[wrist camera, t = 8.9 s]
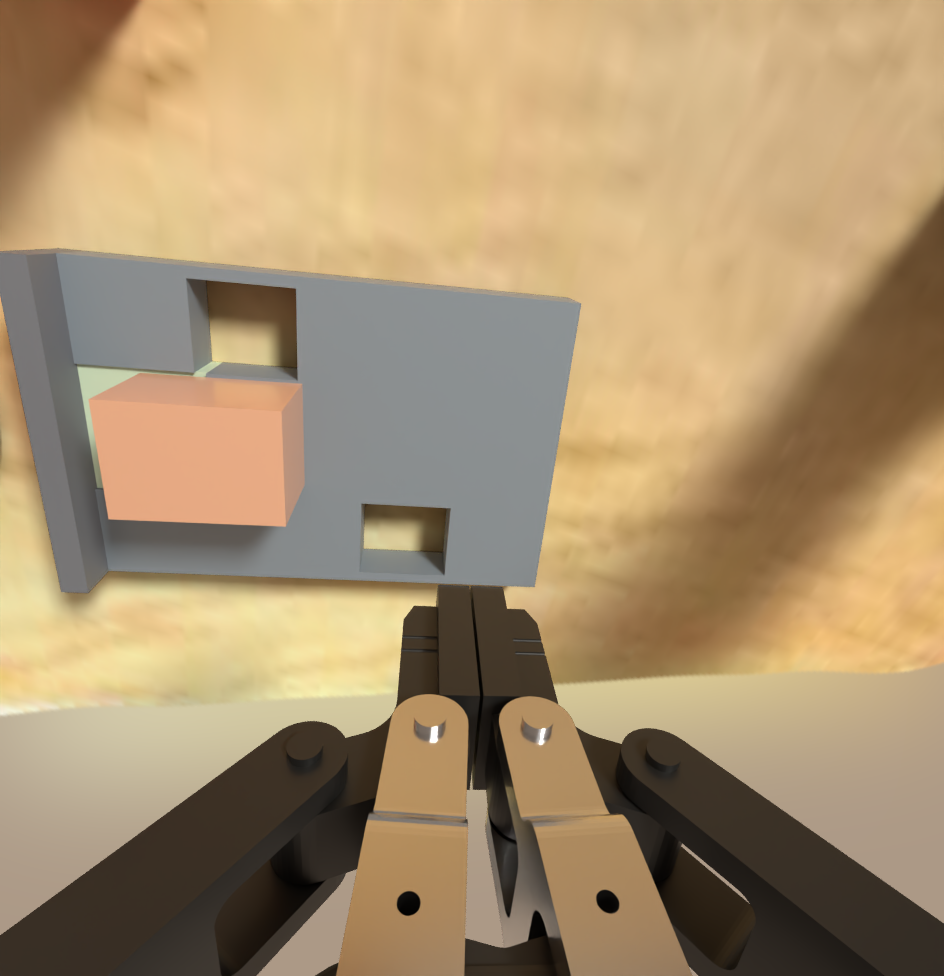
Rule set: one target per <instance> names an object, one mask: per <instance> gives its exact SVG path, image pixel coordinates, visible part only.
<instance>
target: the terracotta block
mask: <svg viewBox="0 0 944 976" xmlns="http://www.w3.org/2000/svg"><path fill="white" fill-rule="evenodd" d="M88 400H89V406H90V412H91V418H92V424H93V430H94V436H95V441H96V447H97V453H98V459H99V465H100V471H101V477H102V483H103V489H104V495H105V501H106V507H107V512H108V518H109V519H114V520H138V521H162V522H186V523H211V524H235V525H259V526H283V527H286V525H287V523H288V521H289V518H290V516H291V514H292V512H293V509H294V507H295V505H296V503H297V501H298V498H299V496H300V494H301V492H302V489H303V487H304V485H305V476H304V432H303V388H302V384H298V383H283V382H268V381H254V380H239V379H224V378H210V377H195V376H180V375H166V374H151V373H139V374H137V375H135V376H133V377H131V378H129V379H127V380H125V381H123V382H121V383H119V384H117V385H115V386H113V387H112V388H110V389H108V390H106V391H104V392H102V393H100V394H98V395H96V396H94V397H92V398H90V399H88Z"/></svg>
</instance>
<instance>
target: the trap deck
mask: <svg viewBox="0 0 944 976" xmlns="http://www.w3.org/2000/svg"><path fill="white" fill-rule="evenodd" d="M206 280H210V281H221V282H232V283H242V284H253V285H264V286H274V287H285V288H296V314H297V368H289V367H276V366H264V365H251V364H238V363H225V362H213V361H212V353H211V340H210V326H209V313H208V300H207V286H206ZM0 297H1V302H2V306H3V311H4V316H5V321H6V326H7V331H8V336H9V340H10V345H11V350H12V355H13V360H14V365H15V370H16V374H17V379H18V384H19V389H20V394H21V399H22V403H23V408H24V413H25V418H26V423H27V428H28V433H29V437H30V442H31V447H32V452H33V457H34V462H35V467H36V471H37V476H38V481H39V486H40V491H41V496H42V501H43V505H44V510H45V515H46V520H47V525H48V530H49V535H50V539H51V544H52V549H53V554H54V559H55V564H56V569H57V573H58V578H59V583H60V588H61V592H75V593H89V592H90V591H91V590H92V589H93V587H94V586H95V585H96V584H97V583H98V582H99V581H100V580H101V579H102V578H103V576H104V575H105V574H106V573H107V572H108V571H128V572H154V573H180V574H206V575H233V576H259V577H285V578H311V579H337V580H363V581H389V582H416V583H442V584H468V585H494V586H520V587H535V581H536V575H537V569H538V563H539V557H540V551H541V545H542V539H543V533H544V527H545V520H546V514H547V508H548V502H549V496H550V490H551V484H552V478H553V472H554V466H555V460H556V454H557V447H558V441H559V435H560V429H561V423H562V417H563V411H564V405H565V399H566V393H567V387H568V381H569V374H570V368H571V362H572V356H573V350H574V344H575V338H576V332H577V326H578V320H579V314H580V307H581V303H579V302H576V301H574V300H572V299H570V298H564V297H554V296H544V295H534V294H523V293H513V292H503V291H492V290H482V289H472V288H461V287H451V286H441V285H430V284H420V283H410V282H399V281H389V280H379V279H369V278H358V277H348V276H338V275H327V274H317V273H307V272H296V271H286V270H276V269H265V268H255V267H245V266H234V265H224V264H214V263H204V262H193V261H183V260H173V259H162V258H152V257H142V256H131V255H121V254H111V253H100V252H90V251H80V250H70V249H59V248H57V249H36V250H15V251H0ZM139 373H151V374H166V375H180V376H195V377H210V378H224V379H239V380H254V381H268V382H283V383H298V384H302V388H303V432H304V476H305V485H304V487H303V489H302V492H301V494H300V496H299V498H298V501H297V503H296V505H295V507H294V509H293V512H292V514H291V516H290V518H289V521H288V523H287V525H286V527H283V526H259V525H235V524H211V523H186V522H162V521H138V520H114V519H109V518H108V512H107V507H106V501H105V495H104V489H103V483H102V477H101V471H100V465H99V459H98V453H97V447H96V441H95V436H94V430H93V424H92V418H91V412H90V406H89V400H88V399H90V398H92V397H94V396H96V395H98V394H100V393H102V392H104V391H106V390H108V389H110V388H112V387H113V386H115V385H117V384H119V383H121V382H123V381H125V380H127V379H129V378H131V377H133V376H135V375H137V374H139ZM365 504H379V505H397V506H416V507H435V508H447V510H446V522H445V533H444V544H443V552H423V551H400V550H378V549H363V546H364V513H365Z"/></svg>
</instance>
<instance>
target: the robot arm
mask: <svg viewBox="0 0 944 976" xmlns="http://www.w3.org/2000/svg"><path fill="white" fill-rule="evenodd" d="M471 772H472V783H473V789H474V790H486V792H487V803H488V808H487V816H486V823H485V828H486V829H485V830H486V836H487V842H488V849H489V855H490V861H491V867H492V873H493V879H494V885H495V891H496V897H497V903H498V909H499V915H500V921H501V928H502V936H503V948H500V947H495V946H491V945H488V944H484V943H480V942H477V941H473V940H470V939H466V938H465V924H466V923H465V922H466V884H467V883H466V882H467V842H468V822H467V819H466V792H467V790H469V789H470V781H471ZM682 843H683V844H684V845H685V846H686V847H688V848H689V849H690V850H691V851H692V852H694V853H695V854H696V855H697V856H698V857H700V858H701V859H702V860H703V861H704V862H706V863H707V864H708V865H709V866H710V867H712V868H713V869H714V870H715V871H716V872H717V873H719V874H720V875H721V876H722V877H724V878H725V879H726V880H727V881H728V882H729V883H731V884H732V885H733V886H734V887H735V888H737V889H738V890H739V891H740V892H741V893H742V894H743V895H744V896H745V897H746V899H747V900H748V901H749V903H750V904H749V903H748V902H746V901H745V900H744V899H743V898H742V897H740V896H739V895H738V894H737V893H736V892H735V891H733V890H732V889H731V888H730V887H729V886H727V885H726V884H725V883H724V882H723V881H721V880H720V879H719V878H718V877H717V876H715V875H714V874H713V873H712V872H711V871H709V870H708V869H707V868H706V867H705V866H704V865H702V864H701V863H700V862H699V861H698V860H696V859H695V858H694V857H693V856H692V855H691V854H689V853H688V852H687V851H686V850H685V849H683V848H682V847H681V845H682ZM356 869H357V873H356V878H355V883H354V888H353V893H352V898H351V903H350V908H349V914H348V918H347V923H346V929H345V933H344V938H343V944H342V948H341V954H340V959H339V963H337V964H334V965H332V966H330V967H328V968H327V969H325V970H324V971H322V972H320V973H319V974H317V975H316V976H692V973H691V971H690V968H691V969H692V970H693V971H694V972H695V973H696V974H697V975H698V976H944V923H942V922H941V921H939V920H938V919H937V918H935V917H934V916H932V915H931V914H929V913H928V912H927V911H925V910H924V909H922V908H921V907H919V906H918V905H917V904H915V903H914V902H912V901H911V900H910V899H908V898H906V897H905V896H904V895H902V894H901V893H899V892H898V891H897V890H895V889H894V888H892V887H891V886H890V885H888V884H887V883H885V882H884V881H882V880H881V879H880V878H878V877H877V876H875V875H874V874H873V873H871V872H870V871H868V870H867V869H865V868H864V867H863V866H861V865H860V864H858V863H857V862H855V861H854V860H852V859H851V858H850V857H848V856H847V855H845V854H844V853H843V852H841V851H840V850H838V849H837V848H835V847H834V846H833V845H831V844H830V843H828V842H827V841H826V840H824V839H823V838H821V837H820V836H818V835H817V834H816V833H814V832H813V831H811V830H810V829H808V828H807V827H805V826H804V825H803V824H801V823H800V822H798V821H797V820H796V819H794V818H793V817H791V816H790V815H788V814H787V813H786V812H784V811H783V810H781V809H780V808H779V807H777V806H776V805H774V804H773V803H771V802H770V801H769V800H767V799H766V798H764V797H763V796H761V795H760V794H758V793H757V792H756V791H754V790H753V789H751V788H750V787H749V786H747V785H746V784H744V783H743V782H742V781H740V780H739V779H737V778H736V777H734V776H733V775H732V774H730V773H729V772H727V771H726V770H724V769H723V768H722V767H720V766H719V765H717V764H716V763H714V762H713V761H712V760H710V759H709V758H707V757H706V756H704V755H703V754H702V753H700V752H699V751H697V750H696V749H695V748H693V747H691V746H690V745H689V744H687V743H686V742H685V741H683V740H682V739H680V738H678V737H677V736H675V735H673V734H670V733H668V732H665V731H662V730H657V729H651V728H645V729H638V730H636V731H633V732H631V733H629V734H628V735H627V736H626V737H625V738H624V740H623V742H622V744H619V743H615V742H612V741H609V740H605V739H602V738H598V737H595V736H592V735H589V734H587V733H585V732H583V731H581V730H580V729H578V728H577V727H575V725H574V722H573V720H572V718H571V716H570V715H569V714H568V713H567V711H566V710H565V709H563V708H562V707H561V706H559V705H558V701H557V698H556V694H555V690H554V686H553V682H552V678H551V675H550V671H549V667H548V663H547V659H546V656H545V652H544V648H543V644H542V643H541V636H540V633H539V629H538V625H537V623H536V622H535V621H534V620H533V618H532V617H531V616H530V615H529V614H528V613H527V612H526V611H525V610H522V609H507V607H506V601H505V596H504V591H503V588H502V587H485V586H471V588H470V589H469V586H455V585H438V588H437V601H436V607H431V606H414V607H413V608H412V609H411V611H410V612H409V613H408V615H407V616H406V617H405V619H404V623H403V635H402V648H401V661H400V673H399V686H398V698H397V705H396V708H395V710H394V712H393V714H392V715H391V716H390V718H389V719H388V720H387V721H386V722H384V723H383V724H382V725H381V726H379V727H377V728H376V729H374V730H371V731H369V732H366V733H363V734H359V735H356V736H351V737H348V738H345V737H344V735H343V734H342V733H341V732H340V731H339V730H338V729H337V728H335V727H334V726H332V725H329V724H327V723H323V722H317V721H316V722H315V721H308V722H301V723H297V724H293V725H291V726H288V727H286V728H284V729H282V730H281V731H279V732H278V733H276V734H275V735H273V736H272V737H271V738H269V739H268V740H267V741H265V742H264V743H263V744H261V745H260V746H258V747H257V748H256V749H254V750H253V751H252V752H250V753H249V754H247V755H246V756H245V757H243V758H242V759H241V760H239V761H238V762H237V763H235V764H234V765H233V766H231V767H230V768H228V769H227V770H226V771H224V772H223V773H222V774H220V775H219V776H218V777H216V778H215V779H213V780H212V781H211V782H209V783H208V784H207V785H205V786H204V787H202V788H201V789H200V790H198V791H197V792H196V793H194V794H193V795H192V796H190V797H189V798H187V799H186V800H185V801H183V802H182V803H180V804H179V805H178V806H176V807H175V808H174V809H172V810H171V811H170V812H168V813H167V814H166V815H164V816H163V817H161V818H160V819H159V820H157V821H156V822H155V823H153V824H152V825H150V826H149V827H148V828H146V829H145V830H144V831H142V832H141V833H140V834H138V835H137V836H135V837H134V838H133V839H132V840H130V841H129V842H128V843H126V844H124V845H123V846H122V847H120V848H119V849H118V850H116V851H115V852H114V853H112V854H111V855H109V856H108V857H107V858H106V859H104V860H103V861H101V862H100V863H99V864H97V865H96V866H94V867H93V868H92V869H90V870H89V871H88V872H86V873H85V874H83V875H82V876H81V877H79V878H78V879H77V880H75V881H74V882H73V883H71V884H70V885H68V886H67V887H66V888H65V889H63V890H62V891H60V892H59V893H58V894H56V895H55V896H53V897H52V898H51V899H49V900H48V901H47V902H45V903H44V904H42V905H41V906H40V907H38V908H37V909H36V910H34V911H33V912H32V913H30V914H29V915H27V916H26V917H25V918H23V919H22V920H21V921H20V922H18V923H17V924H15V925H14V926H12V927H11V928H10V929H9V930H7V931H6V932H4V933H3V934H1V935H0V976H256V975H257V974H258V973H259V972H260V971H261V970H262V969H263V967H265V966H266V965H267V964H268V962H269V961H270V960H271V959H272V958H273V957H274V956H275V955H276V954H277V953H278V952H279V950H280V949H281V948H282V947H283V946H284V945H285V944H286V943H287V942H288V941H289V940H290V939H291V937H292V936H293V935H294V934H295V933H296V932H297V931H298V930H299V929H300V928H301V927H302V925H303V924H304V923H305V922H306V921H307V920H308V919H309V918H310V917H311V916H312V915H313V914H314V913H315V911H316V910H317V909H318V908H319V907H320V906H321V905H322V904H323V903H324V902H325V901H326V900H327V898H328V897H329V896H330V895H331V894H332V893H333V892H334V891H335V890H336V889H337V887H338V886H339V885H340V883H341V882H342V880H343V879H344V877H345V874H346V873H347V872H350V871H353V870H356ZM689 967H690V968H689Z"/></svg>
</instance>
